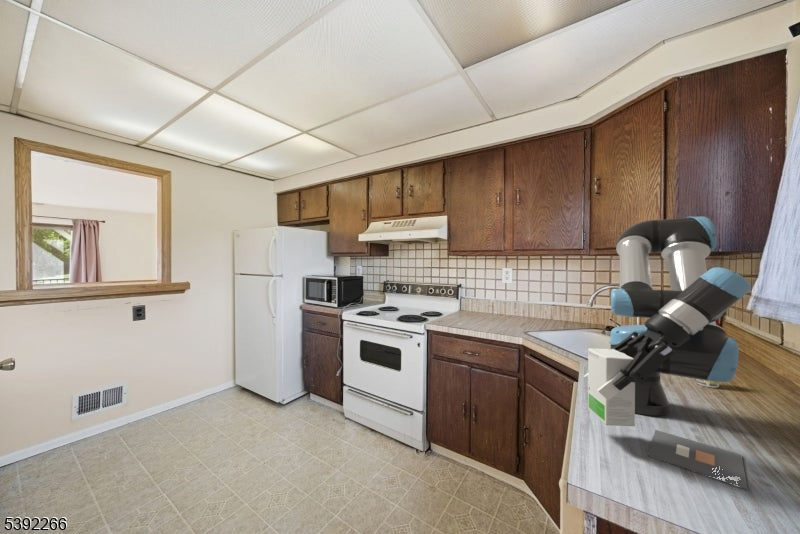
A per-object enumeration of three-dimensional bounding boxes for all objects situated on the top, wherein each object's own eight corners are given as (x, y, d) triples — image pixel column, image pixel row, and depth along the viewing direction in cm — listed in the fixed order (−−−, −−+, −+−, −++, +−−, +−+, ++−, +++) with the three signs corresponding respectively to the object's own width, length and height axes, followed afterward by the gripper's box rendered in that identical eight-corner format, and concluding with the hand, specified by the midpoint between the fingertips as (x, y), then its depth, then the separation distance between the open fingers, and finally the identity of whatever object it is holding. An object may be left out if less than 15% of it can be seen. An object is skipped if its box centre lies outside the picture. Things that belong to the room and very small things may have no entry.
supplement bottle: (720, 385, 101) (719, 355, 101) (718, 389, 97) (717, 358, 97) (697, 380, 105) (696, 352, 105) (695, 384, 102) (694, 355, 102)
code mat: (647, 455, 64) (647, 454, 64) (655, 430, 73) (655, 429, 73) (747, 490, 53) (747, 488, 53) (741, 456, 63) (741, 454, 63)
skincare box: (587, 409, 75) (585, 347, 75) (615, 410, 74) (613, 348, 74) (606, 426, 66) (605, 356, 67) (638, 427, 65) (636, 357, 66)
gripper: (725, 348, 56) (628, 421, 60) (661, 327, 76) (592, 383, 81) (690, 319, 57) (598, 392, 62) (636, 307, 78) (570, 362, 82)
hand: (595, 387), depth 71 cm, fingers closed on skincare box, 9 cm apart
